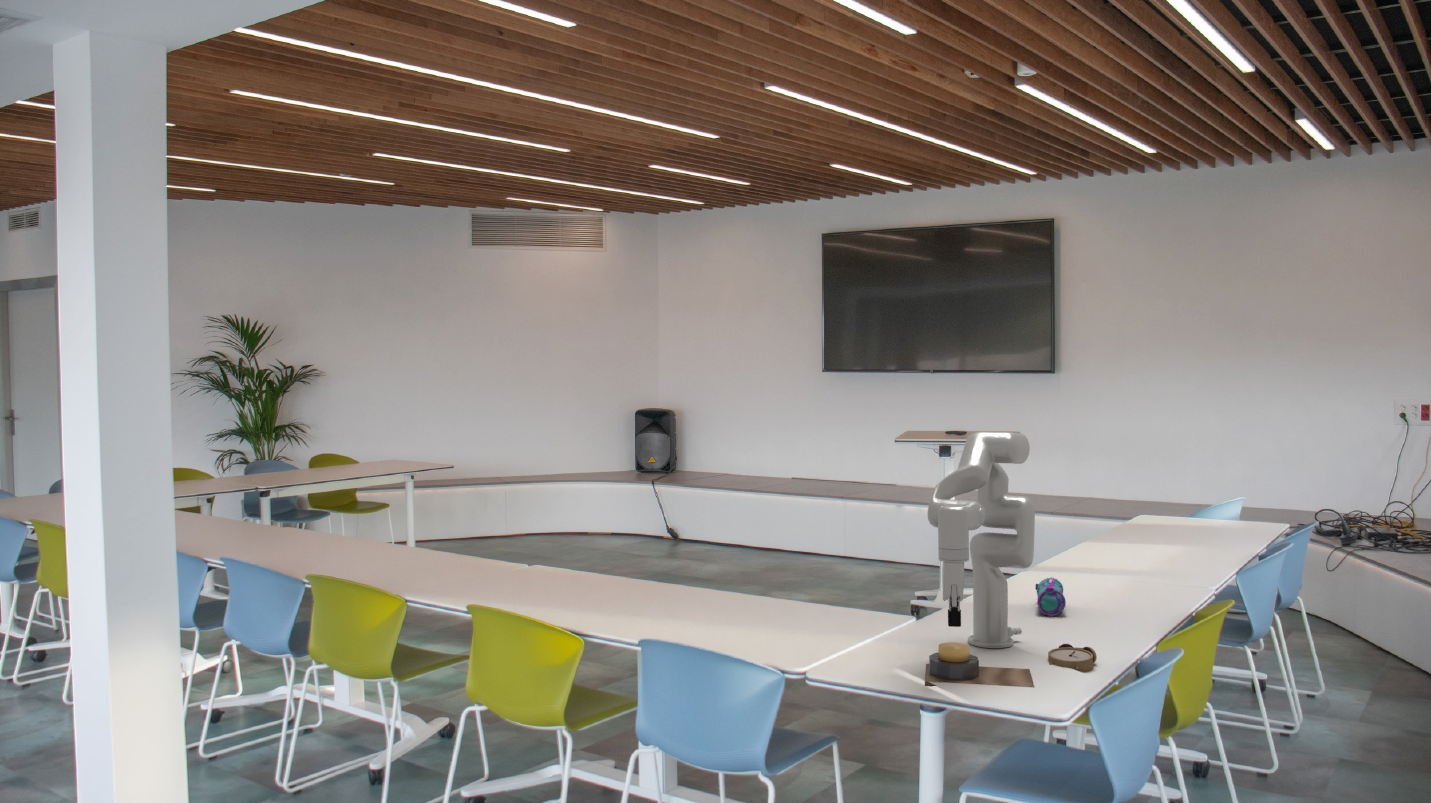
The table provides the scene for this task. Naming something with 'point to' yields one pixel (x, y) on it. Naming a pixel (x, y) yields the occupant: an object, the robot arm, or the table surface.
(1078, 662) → the alarm clock
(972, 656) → the grey faceted ring
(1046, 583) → the pencil case
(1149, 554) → the table surface
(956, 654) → the cap
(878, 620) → the table surface
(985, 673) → the mount
